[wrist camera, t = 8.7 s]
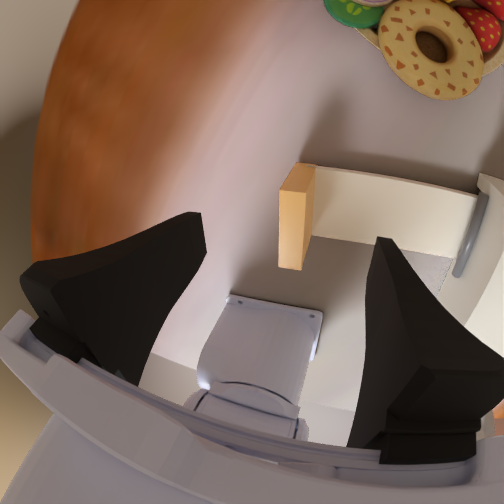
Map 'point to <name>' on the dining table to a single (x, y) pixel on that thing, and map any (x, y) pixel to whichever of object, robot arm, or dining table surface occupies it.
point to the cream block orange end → (369, 212)
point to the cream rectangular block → (480, 269)
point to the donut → (486, 426)
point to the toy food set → (431, 39)
